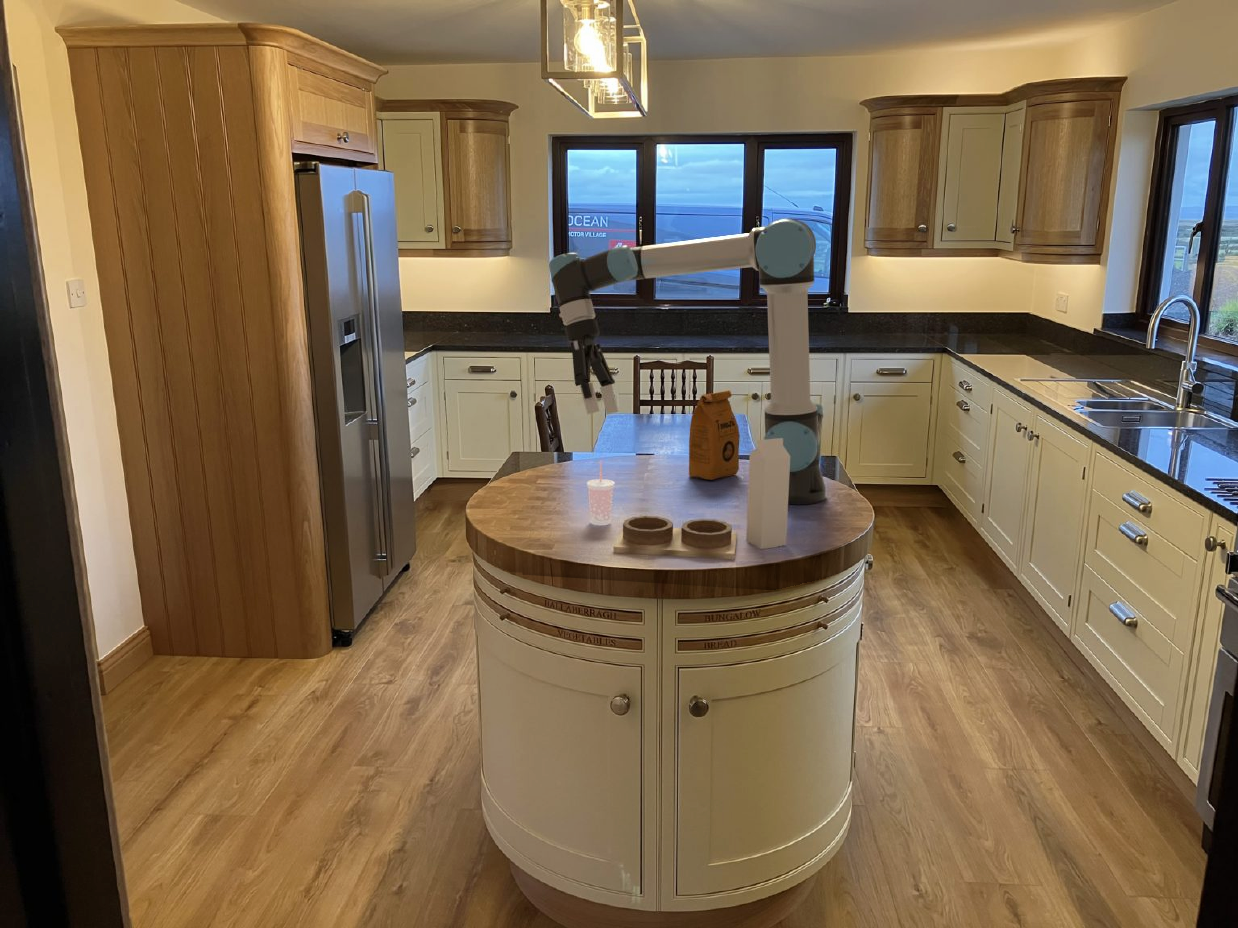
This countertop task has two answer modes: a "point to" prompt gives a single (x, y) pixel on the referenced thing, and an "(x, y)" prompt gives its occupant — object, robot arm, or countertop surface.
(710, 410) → the coffee package
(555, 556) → the countertop surface
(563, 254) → the robot arm
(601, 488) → the beverage cup
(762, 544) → the milk
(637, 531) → the socket board
